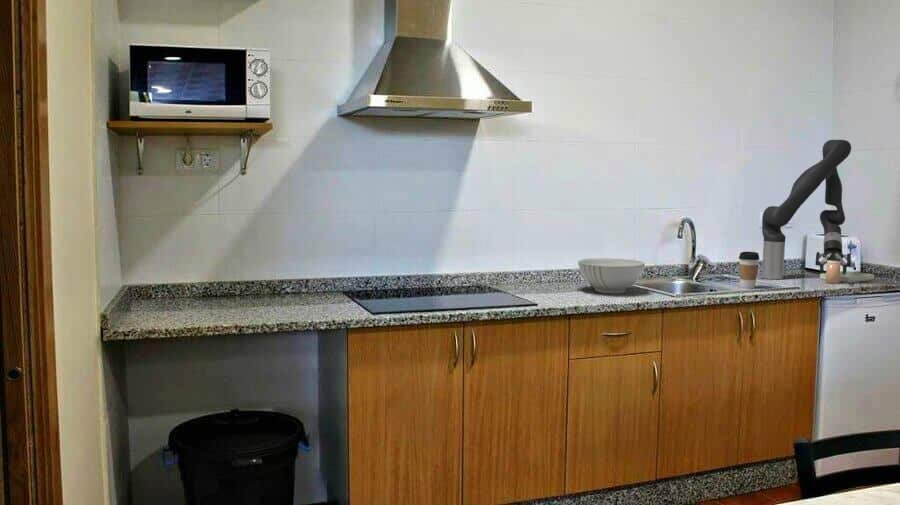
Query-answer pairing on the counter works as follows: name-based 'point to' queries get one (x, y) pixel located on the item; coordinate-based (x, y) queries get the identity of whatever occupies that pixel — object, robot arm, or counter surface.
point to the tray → (851, 277)
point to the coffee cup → (748, 269)
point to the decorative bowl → (611, 273)
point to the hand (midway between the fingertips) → (833, 272)
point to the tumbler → (833, 272)
